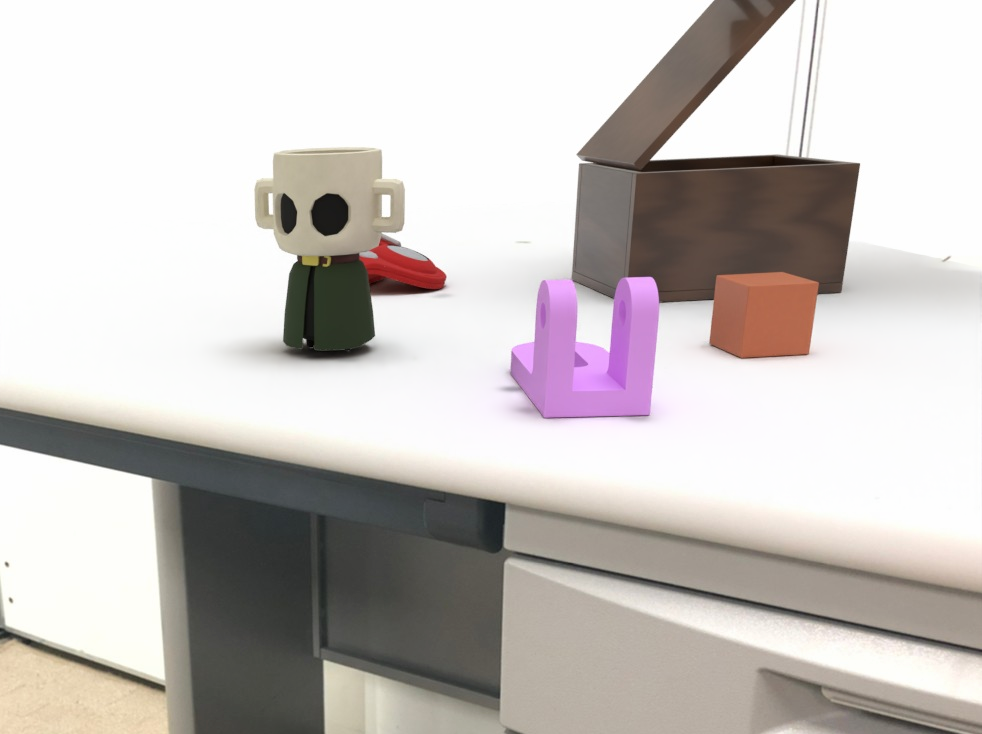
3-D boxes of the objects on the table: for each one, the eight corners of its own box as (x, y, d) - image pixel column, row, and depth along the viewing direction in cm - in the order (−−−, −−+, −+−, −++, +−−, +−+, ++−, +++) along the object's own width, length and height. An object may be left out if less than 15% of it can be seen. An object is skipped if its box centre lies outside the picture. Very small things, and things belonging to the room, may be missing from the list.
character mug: (234, 354, 82) (226, 154, 77) (283, 334, 87) (279, 147, 83) (380, 366, 77) (382, 153, 72) (422, 345, 82) (426, 146, 78)
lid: (744, -20, 97) (700, -71, 96) (827, -34, 86) (779, -93, 84) (582, 161, 102) (537, 115, 100) (640, 170, 90) (591, 119, 88)
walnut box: (763, 269, 106) (777, 154, 103) (841, 292, 95) (860, 163, 91) (571, 279, 105) (578, 163, 102) (626, 304, 94) (636, 173, 90)
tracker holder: (473, 273, 103) (381, 256, 98) (454, 321, 105) (363, 307, 100) (399, 228, 112) (311, 210, 107) (383, 273, 114) (296, 258, 109)
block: (774, 340, 80) (782, 271, 78) (809, 354, 75) (819, 282, 74) (708, 343, 79) (716, 275, 78) (740, 358, 75) (749, 285, 73)
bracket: (649, 415, 64) (662, 282, 61) (544, 417, 64) (552, 286, 61) (591, 361, 76) (600, 249, 73) (503, 363, 76) (508, 252, 73)
